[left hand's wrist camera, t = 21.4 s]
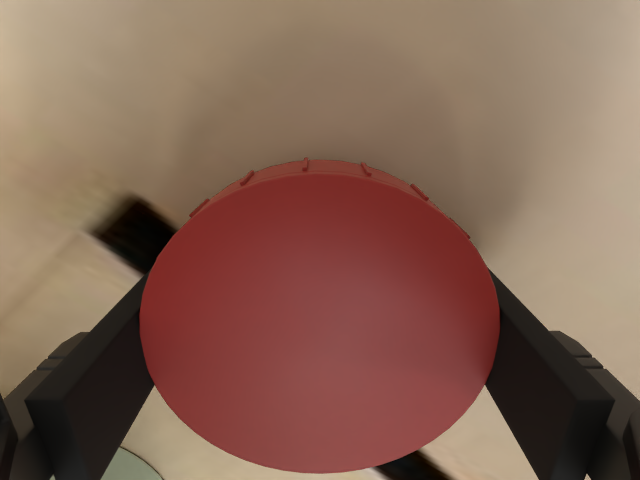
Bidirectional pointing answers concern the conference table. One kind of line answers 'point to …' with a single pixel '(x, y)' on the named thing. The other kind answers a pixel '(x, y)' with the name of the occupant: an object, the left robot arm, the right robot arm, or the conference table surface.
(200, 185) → the conference table surface
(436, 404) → the lid
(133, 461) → the jar
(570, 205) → the conference table surface
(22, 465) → the left robot arm
